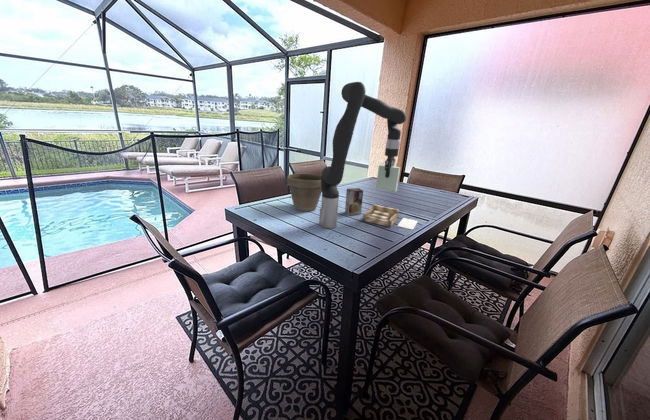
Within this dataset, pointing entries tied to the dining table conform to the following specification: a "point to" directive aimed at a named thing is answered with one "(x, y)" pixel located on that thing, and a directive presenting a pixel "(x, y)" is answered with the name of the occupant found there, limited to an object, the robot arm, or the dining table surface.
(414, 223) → the white flat rectangle
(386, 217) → the front offcut
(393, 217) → the rack
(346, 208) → the coffee box
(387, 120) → the robot arm
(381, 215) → the back offcut
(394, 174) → the pale green upright slab
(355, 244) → the dining table surface
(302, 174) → the plant pot
